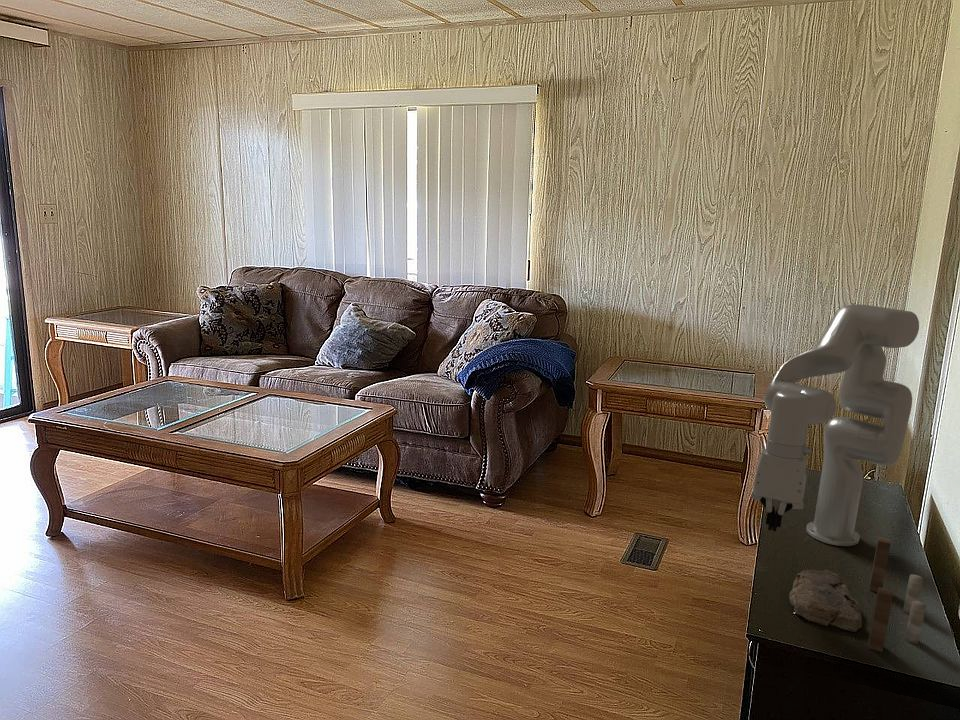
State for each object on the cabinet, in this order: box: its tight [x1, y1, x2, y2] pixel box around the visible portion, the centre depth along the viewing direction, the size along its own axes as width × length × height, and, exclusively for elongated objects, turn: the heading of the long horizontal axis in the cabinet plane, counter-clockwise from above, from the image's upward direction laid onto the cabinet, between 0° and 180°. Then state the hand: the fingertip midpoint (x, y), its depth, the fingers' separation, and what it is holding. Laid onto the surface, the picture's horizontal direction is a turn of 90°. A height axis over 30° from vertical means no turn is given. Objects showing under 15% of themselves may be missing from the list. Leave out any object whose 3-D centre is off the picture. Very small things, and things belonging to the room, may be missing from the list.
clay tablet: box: [788, 568, 863, 633], centre depth 161 cm, size 14×5×20 cm
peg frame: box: [868, 536, 927, 653], centre depth 154 cm, size 27×9×12 cm, turn 153°
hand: (772, 528), depth 163 cm, fingers closed
